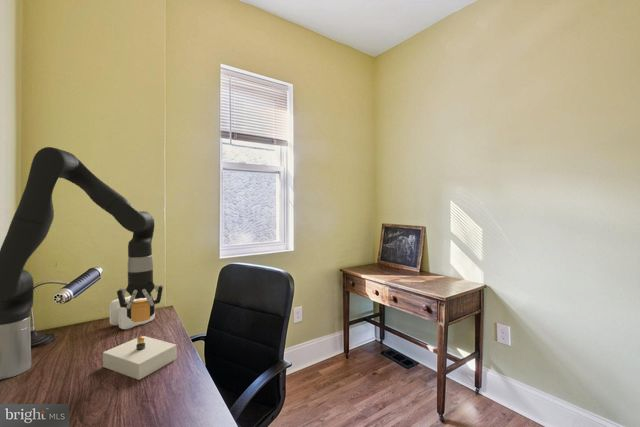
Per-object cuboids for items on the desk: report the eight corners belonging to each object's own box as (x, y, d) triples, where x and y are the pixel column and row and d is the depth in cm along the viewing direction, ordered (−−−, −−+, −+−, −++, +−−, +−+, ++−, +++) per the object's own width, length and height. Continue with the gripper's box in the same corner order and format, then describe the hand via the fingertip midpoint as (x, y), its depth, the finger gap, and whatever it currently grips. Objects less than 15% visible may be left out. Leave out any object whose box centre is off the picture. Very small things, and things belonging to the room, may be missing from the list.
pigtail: (139, 350, 101) (139, 339, 101) (134, 349, 102) (134, 337, 102) (146, 347, 103) (146, 336, 103) (141, 346, 104) (141, 334, 104)
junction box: (139, 379, 93) (138, 364, 92) (103, 366, 100) (103, 352, 100) (176, 358, 105) (176, 344, 105) (142, 348, 113) (142, 335, 112)
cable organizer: (144, 316, 145) (143, 292, 145) (155, 320, 139) (155, 296, 139) (109, 326, 132) (108, 301, 132) (120, 332, 127) (120, 305, 126)
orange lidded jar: (139, 323, 100) (138, 305, 99) (127, 320, 102) (127, 303, 102) (154, 317, 105) (154, 300, 105) (143, 314, 107) (142, 298, 107)
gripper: (112, 273, 96) (114, 324, 97) (162, 269, 102) (163, 317, 102) (118, 268, 103) (119, 316, 104) (164, 265, 109) (165, 310, 109)
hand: (141, 316), depth 103 cm, fingers closed on orange lidded jar, 5 cm apart
